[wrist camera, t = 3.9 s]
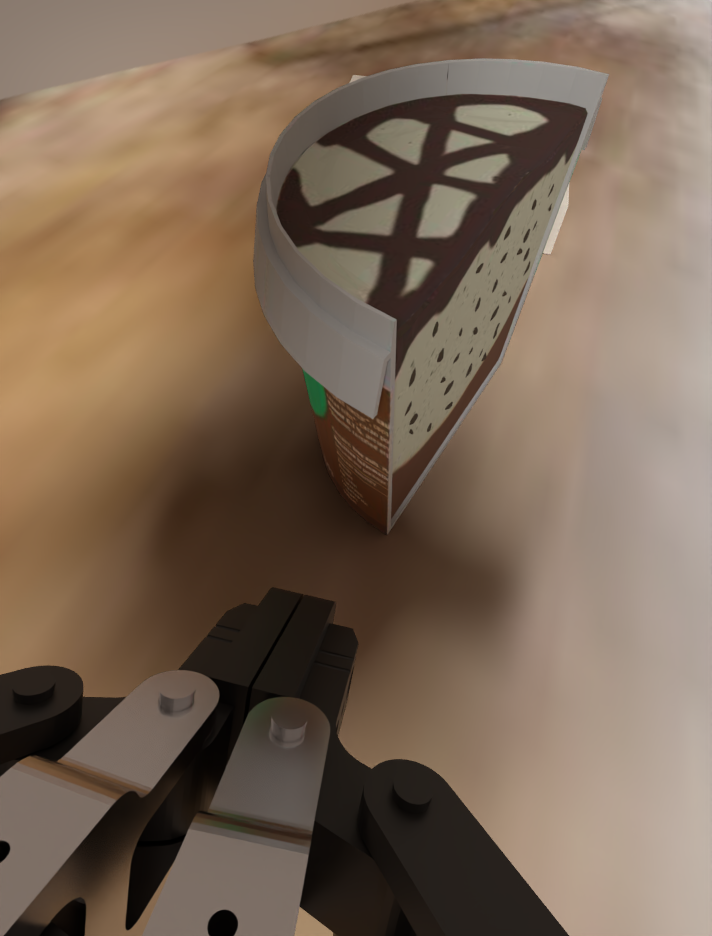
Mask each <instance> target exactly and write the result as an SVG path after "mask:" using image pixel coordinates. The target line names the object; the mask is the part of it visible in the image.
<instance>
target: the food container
mask: <svg viewBox="0 0 712 936" xmlns="http://www.w3.org/2000/svg"><path fill="white" fill-rule="evenodd" d="M608 76H609V74H606V73H602V72H597V71H593V70H589V69H585V68H580V67H575V66H568V65H561V64H555V63H548V62H538V61H527V60H515V59H462V60H446V61H437V62H429V63H421V64H415V65H410V66H405V67H400V68H395V69H390V70H386V71H383V72H380V73H376V74H373V75H370V76H367V77H363V78H360V79H358V80H356V81H353V82H351V83H348V84H346V85H344V86H341V87H339V88H336V89H335V90H333V91H331V92H330V93H328V94H326V95H324V96H323V97H321V98H319V99H317V100H316V101H314V102H313V103H312V104H310V105H309V106H308V107H307V108H305V109H304V110H303V111H302V112H300V113H299V114H298V115H297V116H295V117H294V119H293V120H292V121H291V122H290V123H289V125H288V126H287V127H286V128H285V129H284V130H283V132H282V133H281V134H280V136H279V138H278V140H277V142H276V144H275V146H274V148H273V150H272V152H271V154H270V158H269V163H268V168H267V173H266V175H265V177H264V179H263V181H262V183H261V188H260V193H259V197H258V202H257V210H256V227H255V243H254V260H253V263H254V277H255V288H256V292H257V295H258V298H259V301H260V304H261V307H262V310H263V314H264V316H265V318H266V319H267V321H268V323H269V325H270V326H271V328H272V330H273V331H274V333H275V335H276V337H277V338H278V340H279V342H280V343H281V345H282V346H283V347H284V348H285V349H286V350H287V351H288V353H289V354H290V355H291V356H292V357H293V358H294V359H295V361H296V362H297V363H298V364H299V365H300V366H301V367H302V369H303V373H304V378H305V382H306V386H307V391H308V395H309V399H310V403H311V408H312V412H313V416H314V421H315V425H316V429H317V433H318V438H319V442H320V446H321V451H322V455H323V459H324V462H325V465H326V468H327V470H328V473H329V476H330V478H331V479H332V481H333V483H334V485H335V486H336V488H337V490H338V492H339V493H340V494H341V495H342V497H343V498H344V499H345V500H346V502H347V503H348V504H349V505H350V507H351V508H352V509H354V510H355V511H356V512H357V513H358V514H359V515H360V516H361V517H362V518H363V519H365V520H366V521H367V522H368V523H370V524H371V525H373V526H374V527H376V528H377V529H379V530H380V531H382V532H383V533H385V534H386V535H388V533H389V532H390V530H391V529H392V527H393V526H394V524H395V522H396V521H397V519H398V518H399V516H400V515H401V513H402V512H403V510H404V509H405V507H406V506H407V504H408V503H409V501H410V500H411V498H412V497H413V495H414V494H415V492H416V491H417V489H418V488H419V486H420V485H421V483H422V482H423V480H424V479H425V477H426V476H427V474H428V473H429V471H430V470H431V468H432V467H433V465H434V464H435V462H436V461H437V459H438V458H439V456H440V455H441V453H442V452H443V450H444V449H445V447H446V446H447V444H448V443H449V441H450V440H451V438H452V437H453V435H454V434H455V432H456V431H457V429H458V428H459V426H460V425H461V423H462V422H463V420H464V419H465V417H466V416H467V414H468V413H469V411H470V410H471V408H472V407H473V405H474V404H475V402H476V401H477V399H478V398H479V396H480V395H481V393H482V392H483V390H484V389H485V387H486V386H487V384H488V383H489V381H490V380H491V378H492V377H493V375H494V374H495V372H496V371H497V369H498V368H499V366H500V365H501V363H502V360H503V358H504V355H505V352H506V350H507V347H508V344H509V342H510V339H511V336H512V334H513V331H514V328H515V326H516V323H517V320H518V318H519V315H520V312H521V310H522V307H523V304H524V302H525V299H526V296H527V294H528V291H529V288H530V286H531V283H532V280H533V278H534V275H535V272H536V270H537V267H538V264H539V262H540V259H541V256H542V254H543V251H544V248H545V246H546V243H547V240H548V238H549V235H550V232H551V230H552V227H553V224H554V222H555V219H556V216H557V214H558V211H559V208H560V206H561V203H562V200H563V198H564V195H565V192H566V190H567V187H568V184H569V182H570V179H571V176H572V174H573V171H574V168H575V166H576V163H577V160H578V158H579V155H580V152H581V150H585V148H586V147H587V144H588V141H589V138H590V135H591V132H592V129H593V126H594V122H595V119H596V116H597V113H598V110H599V107H600V104H601V101H602V98H601V96H602V94H603V91H604V88H605V85H606V82H607V79H608Z"/></svg>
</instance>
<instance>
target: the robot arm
mask: <svg viewBox="0 0 712 936" xmlns="http://www.w3.org/2000/svg"><path fill="white" fill-rule="evenodd" d="M335 608H336V602H334V601H330V600H325V599H321V598H317V597H313V596H308V595H304V596H303V594H299V593H295V592H291V591H286V590H282V589H278V588H274V587H272V588H271V589H270V590H269V592H268V593H267V595H266V596H265V597H264V599H263V600H262V602H261V603H260V604H259V606H255V605H251V604H247V603H243V604H241V605H239V606H237V607H235V608H233V609H231V610H229V611H227V612H226V613H225V614H224V616H223V617H222V618H221V619H220V620H219V622H218V623H217V624H216V627H214V628H213V629H212V630H211V631H210V632H209V634H208V635H207V638H206V637H205V638H204V640H203V641H202V642H201V643H200V644H199V646H198V647H197V648H196V649H195V650H194V652H193V653H192V654H191V655H190V656H189V658H188V659H187V660H186V661H185V662H184V664H183V665H182V666H181V667H180V668H179V670H174V671H167V672H162V673H159V674H156V675H154V676H152V677H150V678H148V679H146V680H145V681H143V682H142V683H141V684H140V685H139V686H138V687H137V688H136V689H135V690H133V691H132V692H131V693H130V694H129V695H128V696H127V697H123V698H103V697H83V681H82V679H81V677H80V676H79V675H78V674H77V673H75V672H74V671H72V670H70V669H67V668H64V667H59V666H36V667H30V668H25V669H21V670H17V671H14V672H10V673H6V674H2V675H0V936H294V934H295V928H296V923H297V917H298V912H299V906H300V907H301V908H302V909H303V910H305V911H306V912H307V913H309V914H310V915H311V916H313V917H314V918H315V919H317V920H318V921H319V922H321V923H322V924H323V925H324V926H326V927H327V928H328V929H330V930H331V931H332V932H333V936H569V935H568V934H567V932H566V931H565V930H564V929H563V927H562V926H561V925H560V924H559V922H558V921H557V920H556V919H555V917H554V916H553V915H552V914H551V912H550V911H549V910H548V909H547V907H546V906H545V905H544V904H543V902H542V901H541V900H540V899H539V897H538V896H537V895H536V894H535V892H534V891H533V890H532V889H531V887H530V886H529V885H528V884H527V882H526V881H525V880H524V879H523V877H522V876H521V875H520V874H519V872H518V871H517V870H516V869H515V867H514V866H513V865H512V864H511V862H510V861H509V860H508V859H507V857H506V856H505V855H504V854H503V852H502V851H501V850H500V849H499V847H498V846H497V845H496V844H495V842H494V841H493V840H492V839H491V837H490V836H489V835H488V834H487V832H486V831H485V830H484V828H483V827H482V826H481V825H480V823H479V822H478V821H477V820H476V818H475V817H474V816H473V815H472V813H471V812H470V811H469V810H468V808H467V807H466V806H465V805H464V803H463V802H462V801H461V800H460V798H459V797H458V796H457V795H456V793H455V792H454V791H453V790H452V788H451V787H450V786H449V785H448V783H447V782H446V781H445V780H444V779H443V778H442V777H441V776H440V775H439V774H437V773H436V772H435V771H433V770H432V769H430V768H428V767H426V766H424V765H422V764H420V763H417V762H414V761H410V760H403V759H395V760H388V761H385V762H382V763H380V764H378V765H377V766H375V767H374V768H373V769H371V768H369V767H368V766H366V765H364V764H362V763H361V762H359V761H358V760H356V759H355V758H354V757H353V756H351V755H350V754H349V753H348V752H347V751H346V750H345V748H344V747H343V745H342V744H341V742H340V740H339V738H338V734H339V730H340V727H341V723H342V719H343V715H344V712H345V708H346V704H347V700H348V694H349V689H350V684H351V679H352V674H353V668H354V663H355V658H356V653H357V648H358V641H357V639H356V636H355V633H354V631H353V629H352V628H348V627H343V626H339V625H335V624H333V620H334V614H335Z"/></svg>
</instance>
